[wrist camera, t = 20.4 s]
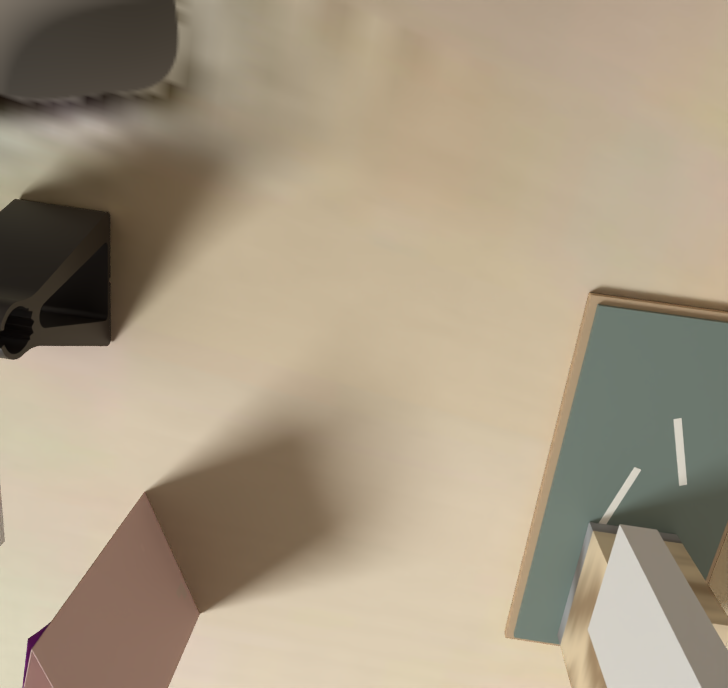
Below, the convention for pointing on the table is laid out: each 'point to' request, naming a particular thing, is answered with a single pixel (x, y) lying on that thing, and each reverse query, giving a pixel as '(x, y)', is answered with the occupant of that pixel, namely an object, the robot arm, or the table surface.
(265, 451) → the table surface
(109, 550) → the greeting card
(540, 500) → the chalkboard
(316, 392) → the table surface
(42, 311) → the phone stand
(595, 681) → the eraser block
